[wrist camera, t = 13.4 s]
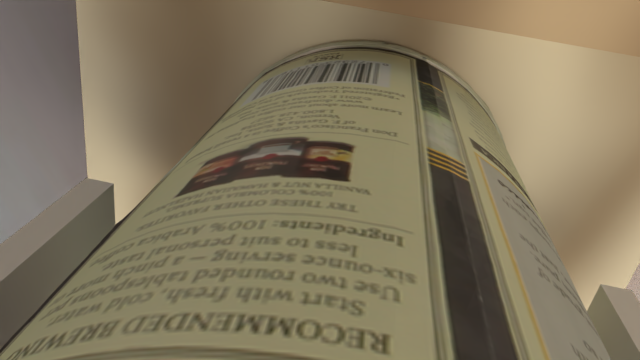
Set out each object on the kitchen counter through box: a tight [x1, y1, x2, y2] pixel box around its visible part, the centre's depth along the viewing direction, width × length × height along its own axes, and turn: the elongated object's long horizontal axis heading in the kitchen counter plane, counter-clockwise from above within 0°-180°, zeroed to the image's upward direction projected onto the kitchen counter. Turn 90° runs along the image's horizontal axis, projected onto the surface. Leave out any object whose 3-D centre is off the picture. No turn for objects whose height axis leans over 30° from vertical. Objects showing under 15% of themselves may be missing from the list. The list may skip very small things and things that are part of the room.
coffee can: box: [0, 41, 611, 360], centre depth 11 cm, size 10×10×14 cm
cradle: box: [76, 0, 640, 311], centre depth 17 cm, size 20×20×4 cm
